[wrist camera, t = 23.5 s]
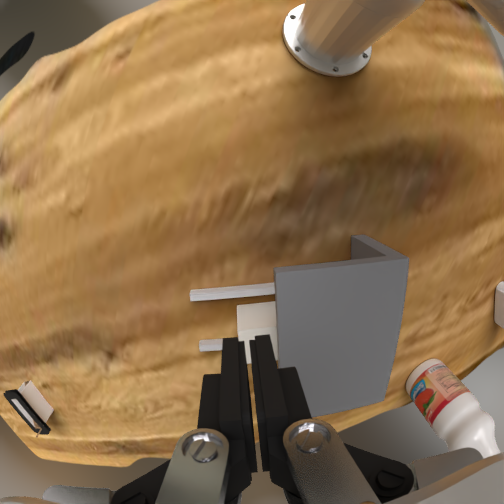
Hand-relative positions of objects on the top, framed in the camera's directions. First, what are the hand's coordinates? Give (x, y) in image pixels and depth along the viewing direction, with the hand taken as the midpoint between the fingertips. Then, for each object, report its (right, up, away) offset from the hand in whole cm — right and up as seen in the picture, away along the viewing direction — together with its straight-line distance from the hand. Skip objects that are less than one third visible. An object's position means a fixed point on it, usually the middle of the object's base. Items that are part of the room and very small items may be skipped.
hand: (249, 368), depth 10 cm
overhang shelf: (+4, -4, +29) cm, 30 cm away
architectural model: (-46, -27, +33) cm, 63 cm away
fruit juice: (+35, -21, +36) cm, 54 cm away
